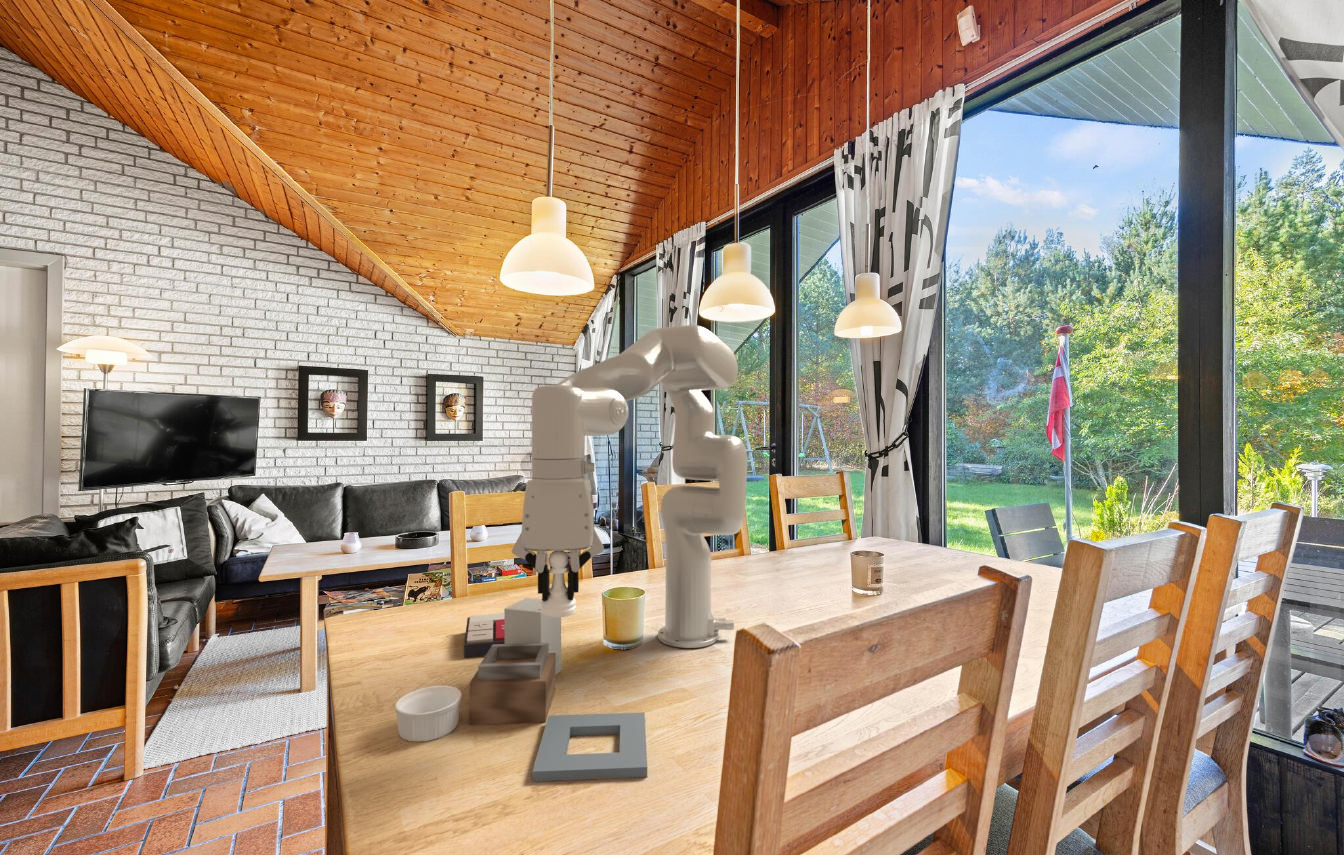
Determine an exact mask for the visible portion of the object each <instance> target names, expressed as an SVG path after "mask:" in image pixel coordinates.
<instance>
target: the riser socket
mask: <svg viewBox="0 0 1344 855" xmlns="http://www.w3.org/2000/svg"><path fill="white" fill-rule="evenodd" d="M555 658H556V653H549V643H529V644H493V645H492V646H491V648H490V649H489V651H488V653H487V654H486V656H483V658H482V660H481V662H480V664H478V668H477V671H476V672H475V674H474V676H473V677H472V679H471V680H470V682H469V685H468V688H469V690H468V691H469V692H468V693H469V694H468V695H469V696H468V704H469V705H468V725H469V726H471V725H472V726H474V725H476V726H477V725H499V724H500V725H501V724H503V725H505V724H528V723H529V724H531V723H533V724H534V723H547V719H548V716H549V712H550V708H551V706H552V702H553V698H554V694H555V691H556V675H555Z"/></svg>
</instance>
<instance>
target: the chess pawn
mask: <svg viewBox="0 0 1344 855" xmlns="http://www.w3.org/2000/svg"><path fill="white" fill-rule="evenodd" d="M569 559H570V558H569V555H568V553H567V551H566V550H565V551H551V553H550V554H549V557H548V563H549V566H550V568H549V569H548V570H549V573H550V574H552V583H551V587H550V589H549V590H548V592H549V595H548V600H546V601H542V602H541V606H542V607H541V614H542V615H544V616H546V617H552V618H558V617H561V618H566V617H570V616H571V615H572V616H573V614H575V613H576V612H577V599H576V598H574V597H573V600H569V599H568V586H567V585H566V582H565V574H566V573H567V574H568V571H569V568H568V567H567V565H568V563H569Z"/></svg>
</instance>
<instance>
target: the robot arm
mask: <svg viewBox="0 0 1344 855" xmlns="http://www.w3.org/2000/svg"><path fill="white" fill-rule="evenodd" d="M738 373H739V366H738V360H737V357H736V355H735V353H734V352H733V351H732V349H731V348H730V347H729V346H728V345H727V344H726V343H724V342H723V341H722V340H721V339H720V338H719V337H718V336H717V335H716V334H714V333H713V332H712V331H710V330H709V329H707V328H706V327H704V326H701V325H698V324H690V325H689V324H688V325H679V326H678V325H677V326H667V327H659V328H655V329H652V330H649V331H648V332H646V333H645V334H644V335H643V336H641V337H640V338H638V340H637V341H635V342H634V343H633V344H631V345H630V346H629V347H628V348H626V349H625V350H623V351H622V352H620V353H619V354H617V355H615V356H612V357H610V358H607V359H604V360H602V361H600V362H598V363H595V364H593V365H590V366H588V367H585V368H582V369H580V370H578V371H577V372H574V373H573V374H571V375H568V376H567V377H565V378H563V379H562V380H561V381H559V382H558V383H557V384H555V385H554V384H553V385H550V384H549V385H547V384H546V385H540V386H538V387H536V388H535V389H534V390H533V392H532V395H531V479H527V482H526V485H525V486H526V487H525V491H524V496H523V497H524V499H523V506H522V522H521V531H520V534H519V536H518V538H517V539H516V541H515V543H514V545H513V547H512V549H511V554H513V555H514V556H516V557H518V558H520V559H522V560H524V561H526V562H527V563H528V564H529V565H530V566H531V567H532V568H533V569H534V570H535V572H536V573H537V594H538V595H539V594H541V599H542V601H546V600H548V595H549V592H548V590H549V589H550V588H551V587H550V585H551V584H550V580H551V579H550V577H551V576H550V574H551V573H549V570H550V569H549V567H548V564H547V559H548V558H547V557H548V552H553V551H565V552H566V551H569V559H570V565H569V568H568V570H569V571H568V572H567V588H568V599H569V600H573V598H574V597H575V593H579V589H580V588H579V587H580V583H579V582H580V581H579V578H580V577H579V574H580V573H579V572H580V569H582V568H583V566H584V565H586V563H587V562H589V560H591V559H592V558H594V557H596V556H597V555H600V554H602V553H603V552H604V550H605V547H604V544H603V543H602V540H601V539H600V537H599V535H598V533H597V532H596V529H595V515H594V514H595V512H594V498H593V490H592V484H591V481H590V479H587V478H586V477H585V475H587V474H590V473H594V472H595V462H589V461H587V460H586V458H585V454H586V453H585V452H586V451H585V448H586V447H585V445H586V444H585V441H586V440H585V437H588V436H589V437H592V436H593V437H601V436H602V437H605V436H611V435H614V434H617V433H618V432H619V431H620V430H621V429H623V428H624V426H625V425H626V423H627V421H628V417H629V408H628V407H629V406H628V403H627V401H632V400H635V399H638V398H639V399H640V398H641V397H644V396H646V395H648V394H649V393H650V392H652V390H654V389H655V387H656V386H658V385H659V384H660V383H661V384H662V386H663V388H664V389H665V391H666V393H667V395H668V396H669V398H670V401H671V403H672V405H673V409H674V433H673V445H672V461H671V462H672V463H671V464H672V469H673V472H674V474H675V475H676V476H678V477H679V478H682V479H685V480H694V481H695V480H696V481H716V482H718V486H719V487H715V486H714V487H712V486H700V485H699V486H698V485H678V486H674V487H671V488H670V489H668V490H667V491H666V492H665V493H664V494H663V496H662V499H661V503H660V513H661V519H662V525H663V526H662V527H663V530H664V539H665V613H664V614H665V625H664V626H662V627H661V628H660V629H659V630H658V631H657V637H658V640H659V641H660V642H661V643H662V644H664V645H667V646H671V647H674V648H682V649H695V648H696V649H699V648H704V647H708V646H711V645H713V644H715V643H717V641H718V640H719V631H720V630H724V631H734V630H735V624H734V620H733V619H731V620H729V619H727V620H726V617H719V618H715V617H714V616H713V614H712V553H711V549H710V546H709V544H708V542H707V540H706V539H705V536H704V535H703V534H708V535H719V536H733V535H735V534H738V533H739V532H740V530H741V529H742V527H743V524H744V520H745V514H746V512H745V511H746V499H747V498H746V496H747V479H748V453H747V449H746V446H745V445H746V444H744V442H743V440H742V439H741V438H739V437H737V436H735V435H732V434H731V435H730V434H715V424H716V423H715V421H716V420H715V419H716V416H715V410H714V408H713V406H712V404H711V402H710V400H709V399H708V398H707V396H705V394H704V392H702V391H712V390H713V391H715V390H716V391H717V390H725V389H728V388H730V387H732V386H733V385H734V384H735V383H736V380H737V377H738ZM583 550H584V551H583ZM581 551H583V552H582V553H581ZM535 552H536V553H535Z"/></svg>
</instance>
